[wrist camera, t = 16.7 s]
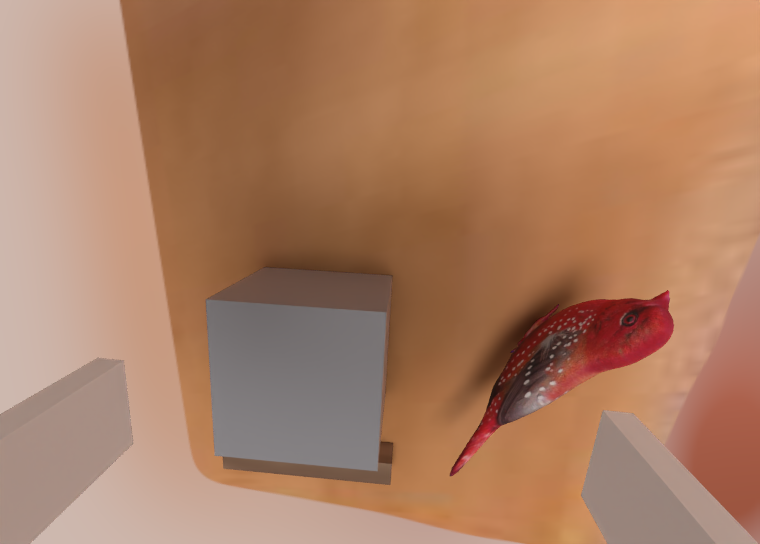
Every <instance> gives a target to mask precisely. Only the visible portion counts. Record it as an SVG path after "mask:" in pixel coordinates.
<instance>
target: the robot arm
mask: <svg viewBox="0 0 760 544" xmlns="http://www.w3.org/2000/svg"><path fill="white" fill-rule="evenodd" d="M132 444H133V436H132V428H131V419H130V410H129V401H128V393H127V384H126V376H125V366H124V361H123V360H114V359H104V358H97V359H95V360H93V361H92V362H90V363H88V364H86V365H84V366H83V367H81V368H79V369H78V370H76V371H74V372H72V373H71V374H69V375H67V376H66V377H64V378H62V379H61V380H59V381H57V382H55V383H53V384H52V385H50V386H48V387H47V388H45V389H43V390H41V391H40V392H38V393H36V394H34V395H33V396H31V397H29V398H27V399H26V400H24V401H22V402H21V403H19V404H17V405H15V406H14V407H12V408H10V409H9V410H7V411H5V412H3V413H2V414H0V544H30V543H31V542H32V541H33V540H34V539H35V538H36V537H37V536H38V535H39V534H41V532H43V531H44V530H45V528H47V527H48V526H49V525H50V524H51V523H52V522H53V521H54V520H55V519H56V518H57V517H58V516H59V515H60V514H61V513H62V512H63V511H64V510H65V509H66V508H67V507H68V506H69V505H70V504H71V503H72V502H74V501H75V500H76V499H77V498H78V497H79V496H80V495H81V494H82V493H83V492H84V491H85V490H86V489H87V488H88V487H89V486H90V485H91V484H92V483H93V482H94V481H95V480H96V479H97V478H98V477H99V476H100V475H101V474H103V473H104V472H105V471H106V470H107V469H108V467H110V466H111V465H112V464H113V463H114V462H115V461H116V460H117V459H118V458H119V457H120V456H121V455H122V454H123V453H124V452H125V451H126V450H127V449H128V448H129V447H130V446H131V445H132ZM581 496H582V498H583V500H584V502H585V504H586V505H587V507H588V509H589V511H590V513H591V515H592V516H593V518H594V520H595V522H596V524H597V525H598V527H599V529H600V531H601V533H602V535H603V536H604V538H605V540H606V542H607V544H758V543H757V542H756V541H755V540H754V539H753V537H751V536H750V535H749V534H748V532H747V531H746V530H745V529H744V528H743V527H742V526H741V525H740V524H739V523H738V522H737V521H736V520H735V519H734V518H733V517H732V516H731V515H730V514H729V513H728V511H726V509H725V508H724V507H723V506H722V505H721V504H720V503H719V502H718V501H717V500H716V499H715V498H714V497H713V496H712V495H711V494H710V493H709V492H708V491H707V490H706V489H705V488H704V487H703V486H702V485H701V484H700V482H698V481H697V479H696V478H695V477H694V476H693V475H692V474H691V473H690V472H689V471H688V470H687V469H686V468H685V467H684V466H683V465H682V464H681V463H680V462H679V461H678V460H677V458H675V456H674V455H673V454H672V453H671V452H670V451H669V450H668V449H667V448H666V447H665V446H664V445H663V444H662V443H661V442H660V441H659V440H658V439H657V438H656V437H655V436H654V435H653V434H652V432H651V431H650V430H649V429H648V428H647V427H646V426H645V425H644V424H643V423H642V422H641V421H640V420H639V419H638V418H637V417H636V416H635V415H634V414H633V413H625V412H615V411H606V410H603V412H602V416H601V420H600V424H599V428H598V432H597V436H596V439H595V443H594V447H593V451H592V455H591V459H590V463H589V467H588V471H587V475H586V478H585V482H584V486H583V490H582V494H581Z"/></svg>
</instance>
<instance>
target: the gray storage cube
mask: <svg viewBox="0 0 760 544" xmlns="http://www.w3.org/2000/svg"><path fill="white" fill-rule="evenodd" d="M392 276H393V275H378V274H362V273H347V272H332V271H316V270H301V269H286V268H271V267H264V268H262V269H260V270H258V271H257V272H255V273H253V274H251V275H249V276H248V277H246V278H244V279H242V280H240V281H238V282H237V283H235V284H233V285H231V286H229V287H228V288H226V289H224V290H222V291H220V292H219V293H217V294H215V295H213V296H211V297H209V298H208V299H206V312H207V329H208V346H209V363H210V381H211V398H212V415H213V432H214V449H215V456H224V457H234V458H244V459H255V460H265V461H276V462H286V463H296V464H307V465H317V466H328V467H338V468H348V469H359V470H369V471H378V461H379V451H380V442H381V432H382V422H383V412H384V403H385V393H386V376H387V359H388V342H389V326H390V309H391V292H392Z"/></svg>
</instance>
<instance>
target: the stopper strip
mask: <svg viewBox="0 0 760 544" xmlns="http://www.w3.org/2000/svg"><path fill="white" fill-rule="evenodd" d="M392 450H393V443H387V442H380V451H379V461H378V471H369V470H359V469H348V468H338V467H328V466H317V465H307V464H296V463H286V462H276V461H265V460H255V459H244V458H234V457H224V456H223V469H233V470H243V471H253V472H264V473H274V474H284V475H294V476H304V477H314V478H324V479H335V480H345V481H355V482H365V483H375V484H385V485H390V483H391V468H392Z"/></svg>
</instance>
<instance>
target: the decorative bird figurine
mask: <svg viewBox="0 0 760 544" xmlns="http://www.w3.org/2000/svg"><path fill="white" fill-rule="evenodd" d="M669 301H670V298H669V291H668V290H667V291H666V292H664V293H662V294H660V295H658V296H656V297H655V298H653V299H651V300H640V299H633V298H629V299H620V300H605V299H599V300H591V301H586V302H582V303H579V304H576V305H573V306H570V307H568V308H566V309H564V310H562V311H560V312H558V313H557V314H555V315H553V316H551V317H550V318H549V316H550V315H551V314H552V313H553V312H555V311H556V310H557V308H558V306H559V304H558V305H557V306H556V307H555V308H554V309H553V310H551V311H550V312H549V313H548V314H547V315H546V316H544V317H541V318H539V319H538V320H537V321H536V322H535V323H534V324H533V325H532V327H531V328H530V329H529V330H528V331H527V332H526V333H525V335H524V338H523V339H522V340H520V341H519V342H518V347H517V348H515V349H514V350H513V351H511V353H512V352H513V354H512V355H511V357H510V359H509V361H508V362H507V364H506V366H505V368H504V370H503V372H502V373H501V375H500V376H499V378H498V379H497V381H496V383H495V385H494V387H493V389H492V392H491V396H490V399H489V403H488V406H487V409H486V412H485V414H484V417H483V419H482V421H481V423H480V425H479V426H478V428H477V430H476V431H475V433H474V434H473V436H472V437H471V439H470V440H469V442H468V443H467V445H466V447H465V448H464V450H463V451H462V453H461V454H460V456H459V458H458V459H457V461H456V462H455V464H454V466H453V467H452V470H451V473H450V476H453V475H454V474H456V473H457V472H458V471H459V470H460V469H461V468H462V467H463V466H464V465H465V463H467V462H468V460H469V459H470V458H471V457H472V456H473V455H474V453H475V452H477V450H478V449H479V448H480V447H481V446H482V445H483V443H484V442H485V441H486V440H487V439H488V438H489V437H490V436H491V435H492V434H493V433H494V432H495V430H496V429H498V428H499V427H500V426H502V425H504V424H507V423H510V422H512V421H515V420H517V419H520V418H522V417H524V416H526V415H528V414H531V413H533V412H535V411H537V410H538V409H540V408H542V407H544V406H546V405H548V404H550V403H551V402H553V401H555V400H556V399H558V398H559V397H561V396H562V395H564V394H566V393H567V392H568V391H570V390H572V389H573V388H575V387H576V386H578V385H580V384H581V383H583V382H585V381H586V380H588V379H590V378H592V377H594V376H595V375H597V374H599V373H601V372H604V371H607V370H611V369H615V368H620V367H624V366H628V365H630V364H633V363H636V362H638V361H640V360H641V359H643V358H645V357H647V356H649V355H651V354H652V353H654V352H656V351H657V350H659V349H660V348H661V347H663V346H664V345H665V344H666V343H667V341H668V340H669V339H670V337H671V335H672V333H673V328H674V324H673V319H672V316H671V315H670V313H669V311H668V308H669Z"/></svg>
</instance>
